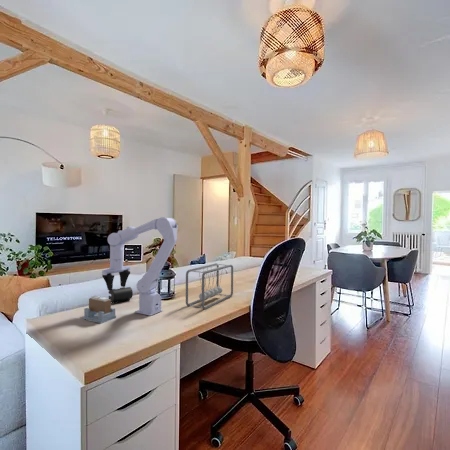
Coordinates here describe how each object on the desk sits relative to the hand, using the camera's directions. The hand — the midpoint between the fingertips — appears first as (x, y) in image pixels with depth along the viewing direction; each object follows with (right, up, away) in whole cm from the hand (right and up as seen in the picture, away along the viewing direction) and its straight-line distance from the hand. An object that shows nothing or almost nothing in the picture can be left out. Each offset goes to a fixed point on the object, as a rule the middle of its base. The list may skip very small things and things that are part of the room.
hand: (116, 288), depth 129 cm
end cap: (-3, -10, +14) cm, 18 cm away
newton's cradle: (+43, -10, +15) cm, 47 cm away
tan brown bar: (-2, -7, -12) cm, 14 cm away
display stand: (-2, -10, -12) cm, 16 cm away
